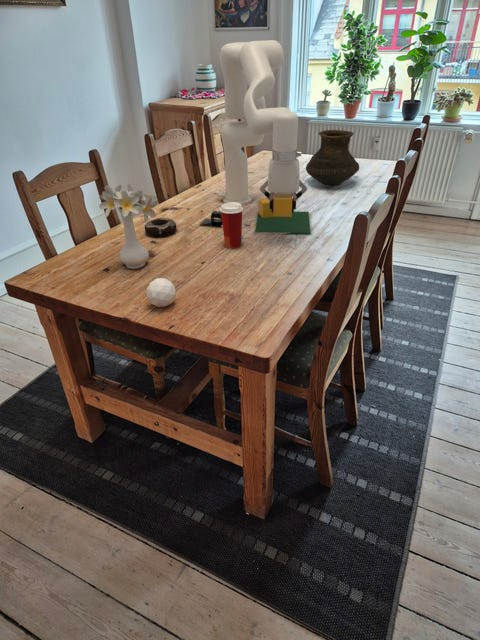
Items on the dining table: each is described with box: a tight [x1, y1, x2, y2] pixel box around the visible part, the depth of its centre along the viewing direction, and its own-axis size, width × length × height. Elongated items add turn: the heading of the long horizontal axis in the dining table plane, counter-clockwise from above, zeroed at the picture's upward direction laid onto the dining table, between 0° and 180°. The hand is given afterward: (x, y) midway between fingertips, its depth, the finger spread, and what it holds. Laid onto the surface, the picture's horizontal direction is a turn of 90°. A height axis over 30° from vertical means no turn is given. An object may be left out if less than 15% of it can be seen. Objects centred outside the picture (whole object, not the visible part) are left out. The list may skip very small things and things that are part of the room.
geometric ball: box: [146, 277, 177, 308], centre depth 119 cm, size 8×8×8 cm
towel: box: [254, 211, 312, 235], centre depth 168 cm, size 20×22×1 cm
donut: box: [144, 217, 177, 238], centre depth 163 cm, size 12×12×4 cm
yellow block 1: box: [257, 197, 274, 218], centre depth 173 cm, size 6×6×6 cm
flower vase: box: [98, 183, 159, 270], centre depth 135 cm, size 13×18×25 cm
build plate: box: [199, 210, 223, 229], centre depth 169 cm, size 12×7×5 cm, turn 74°
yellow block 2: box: [273, 193, 293, 217], centre depth 147 cm, size 6×6×6 cm
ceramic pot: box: [305, 129, 360, 187], centre depth 202 cm, size 24×24×22 cm
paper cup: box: [219, 202, 244, 249], centre depth 149 cm, size 8×8×14 cm
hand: (282, 210), depth 148 cm, fingers closed on yellow block 2, 6 cm apart
